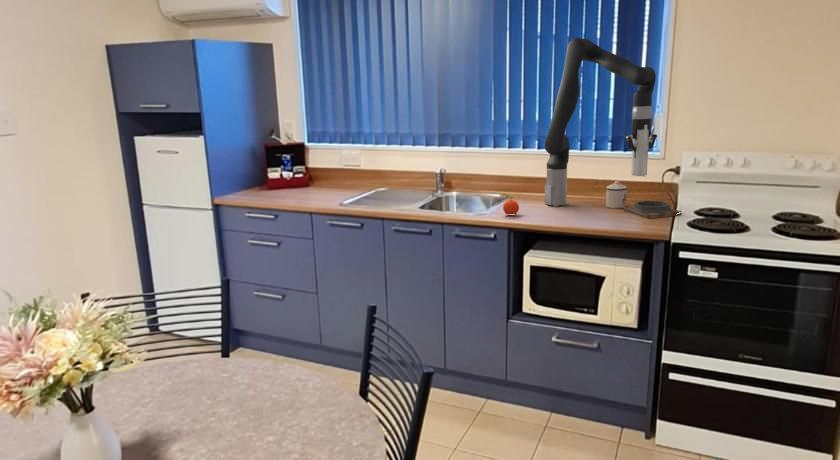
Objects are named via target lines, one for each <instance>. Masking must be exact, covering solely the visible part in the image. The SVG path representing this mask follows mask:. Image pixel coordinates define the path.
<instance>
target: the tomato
mask: <svg viewBox="0 0 840 460" xmlns="http://www.w3.org/2000/svg"><path fill="white" fill-rule="evenodd" d="M502 209H503V212H504V214H506V215H507V214H515V215H516V214H517V213H518V212H519V210H520V206H519V203H518V202H517V201H515V200H514V199H508V200H506V201H505V202H504V203H503V207H502Z"/></svg>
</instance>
